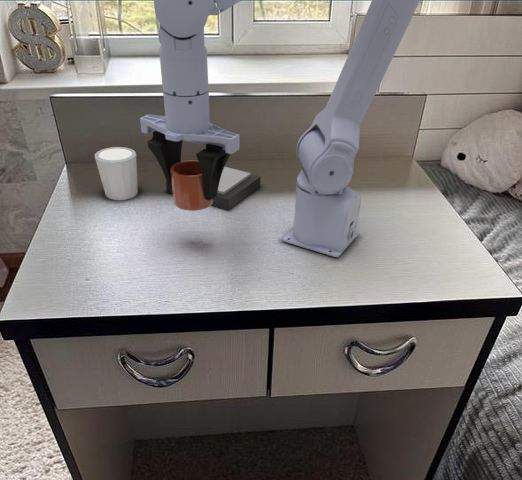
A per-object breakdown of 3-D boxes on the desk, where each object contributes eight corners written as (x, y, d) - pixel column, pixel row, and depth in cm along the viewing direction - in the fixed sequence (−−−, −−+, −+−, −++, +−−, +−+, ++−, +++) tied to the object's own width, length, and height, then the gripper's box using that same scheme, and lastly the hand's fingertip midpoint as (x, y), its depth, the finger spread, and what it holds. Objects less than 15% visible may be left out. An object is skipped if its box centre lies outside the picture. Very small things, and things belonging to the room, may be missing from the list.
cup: (220, 198, 76) (219, 165, 73) (198, 214, 73) (196, 180, 69) (188, 189, 78) (186, 156, 75) (165, 204, 75) (162, 170, 71)
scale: (260, 186, 96) (260, 173, 94) (228, 210, 89) (228, 196, 87) (201, 171, 100) (200, 157, 99) (166, 192, 93) (165, 178, 91)
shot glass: (94, 197, 91) (86, 158, 86) (114, 182, 96) (108, 143, 91) (129, 204, 89) (122, 164, 85) (148, 188, 94) (143, 149, 89)
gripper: (119, 88, 65) (134, 191, 74) (217, 108, 60) (220, 216, 69) (154, 75, 70) (164, 173, 79) (248, 93, 65) (247, 196, 74)
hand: (192, 192), depth 75 cm, fingers closed on cup, 5 cm apart
